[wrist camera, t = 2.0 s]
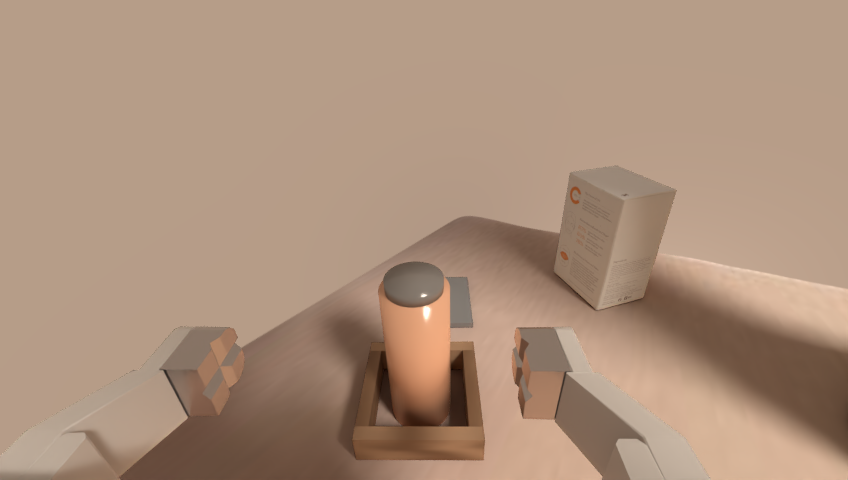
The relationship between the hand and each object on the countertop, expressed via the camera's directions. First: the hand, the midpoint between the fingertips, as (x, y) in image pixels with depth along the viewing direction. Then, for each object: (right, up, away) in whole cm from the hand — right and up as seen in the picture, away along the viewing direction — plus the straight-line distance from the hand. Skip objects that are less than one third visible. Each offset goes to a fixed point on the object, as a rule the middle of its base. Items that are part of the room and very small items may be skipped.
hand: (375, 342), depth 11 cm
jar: (+1, -11, +20) cm, 23 cm away
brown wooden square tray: (+1, -11, +20) cm, 23 cm away
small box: (+22, -2, +33) cm, 40 cm away
